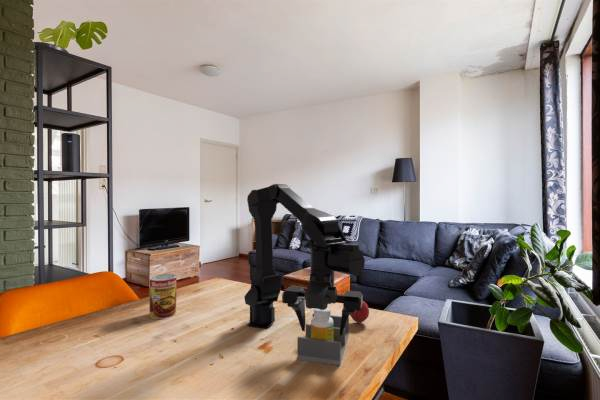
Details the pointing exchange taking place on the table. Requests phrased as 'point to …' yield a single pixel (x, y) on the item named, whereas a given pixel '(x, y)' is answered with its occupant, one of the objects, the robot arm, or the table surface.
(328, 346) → the rack
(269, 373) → the table surface
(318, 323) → the supplement bottle
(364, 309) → the onion
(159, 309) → the canned food
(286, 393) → the table surface
